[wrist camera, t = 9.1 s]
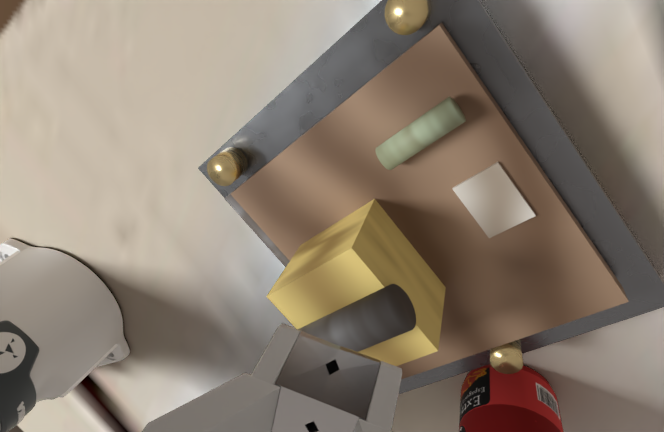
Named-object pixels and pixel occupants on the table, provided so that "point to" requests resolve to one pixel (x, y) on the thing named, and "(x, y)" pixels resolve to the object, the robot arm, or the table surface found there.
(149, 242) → the table surface
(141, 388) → the table surface
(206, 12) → the table surface
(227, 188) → the grey tray
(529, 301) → the level plate
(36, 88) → the table surface
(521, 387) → the canned food
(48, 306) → the robot arm
